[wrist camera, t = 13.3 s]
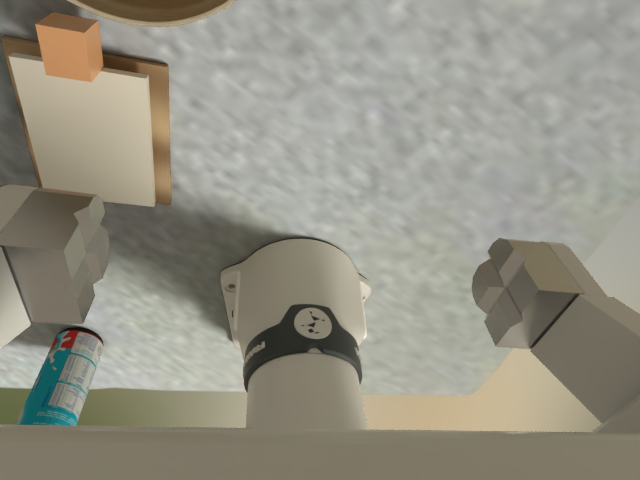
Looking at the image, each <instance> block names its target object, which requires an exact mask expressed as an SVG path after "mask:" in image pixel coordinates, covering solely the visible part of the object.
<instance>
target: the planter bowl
mask: <svg viewBox="0 0 640 480" xmlns="http://www.w3.org/2000/svg"><path fill="white" fill-rule="evenodd" d="M67 1H69V2H71V3H72V4H74V5H76V6H78V7H81V8H83V9H85V10H87V11H89V12H91V13H93V14H96V15H98V16H101V17H104V18H107V19H111V20H114V21H117V22H121V23H126V24H131V25H137V26H148V27H167V26H176V25H183V24H187V23H192V22H195V21H198V20H201V19H204V18H207V17H209V16H211V15H214V14H216V13H218V12H220V11H221V10H223V9H225V8H226V7H228V6H229V5H231V4H233V3H234V2H235V1H237V0H67Z"/></svg>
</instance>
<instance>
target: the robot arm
mask: <svg viewBox="0 0 640 480" xmlns="http://www.w3.org/2000/svg"><path fill="white" fill-rule="evenodd" d="M104 215H105V210H104V205H103V200H102V198H101V197H100V196H99V195H95V194H87V193H79V192H72V191H64V190H56V189H48V188H37V187H30V186H21V185H13V184H8V185H5V186H2V187H1V188H0V349H1V348H2V347H4V346H5V345H6V344H7V343H9V342H10V341H11V340H12V339H14V338H15V337H16V336H18V335H19V334H20V333H21V332H23V331H24V330H25V329H27V328H28V327H29V326H30V325H31V323H30V322H36V323H70V324H83V322H84V320H85V318H86V315H87V313H88V311H89V308H90V306H91V304H92V301H93V299H94V297H95V294H94V289H93V284H94V283H96V282H97V281H99V280H100V279H102V278H103V275H104V273H105V270H106V268H107V263H108V258H109V253H110V241H109V234H108V231H107V230H106V229H105V228H104V227H103V226H102V225H101V224H100V223H101V221H102V219H103V217H104ZM488 254H489V260H487V261H486V262H484V263H483V264H481V265H479V267H478V269H477V270H476V272H475V274H474V276H473V281H472V293H473V298H474V300H475V302H476V305H477V306H478V307H479V308H480V309H481V310H483V311H484V312H485V313H486V314H487V315H486V318H485V321H484V322H485V324H486V326H487V329H488V331H489V333H490V335H491V337H492V339H493V342H494V344H495V346H497V347H509V348H521V349H531V352H532V353H533V354H534V355H535V356H536V357H537V358H538V359H539V360H540V361H541V362H542V363H543V364H544V365H545V366H546V367H547V368H548V369H549V370H550V371H551V372H552V374H553V375H555V377H556V378H557V379H558V380H559V381H560V382H561V383H563V385H564V386H565V387H566V388H567V389H568V390H569V391H570V392H571V393H572V394H573V395H574V396H575V397H576V398H577V399H578V400H579V401H580V402H581V403H582V404H583V405H584V406H585V407H586V408H587V409H588V410H589V411H590V412H591V413H592V414H593V415H594V416H595V417H596V418H597V419H598V420H599V421H600V422H601V423H602V424H601V425H600V426H599V427H597V428H596V429H595V430H593V431H592V432H517V431H514V432H513V431H512V432H511V431H442V430H369V428H368V424H367V419H366V415H365V410H364V406H363V400H362V395H361V389H360V384H361V381H362V362H361V356H360V353H359V349H358V346H359V345H360V344H361V343H362V341H363V339H364V338H366V335H367V329H366V320H365V311H364V302H365V300H366V299H367V298H368V296H369V295H370V293H371V284H370V282H369V281H368V280H367V279H365V278H364V277H362V276H361V275H359V274H358V273H357V271H356V270H355V268H354V266H353V264H352V262H351V260H350V259H349V258H348V257H347V256H346V255H345V254H344V253H343V252H342V251H341V250H339V249H338V248H336V247H334V246H332V245H330V244H327V243H324V242H321V241H317V240H311V239H289V240H283V241H279V242H275V243H272V244H270V245H267V246H265V247H263V248H261V249H260V250H258V251H256V252H255V253H254V254H253V255H251V256H250V257H249V258H248V259H247V260H245V261H244V262H242V263H240V264H237V265H234V266H231V267H229V268H226V269H225V270H223V271H222V272H221V274H220V279H221V286H222V291H223V296H224V301H225V305H226V310H227V315H228V320H229V325H230V330H231V334H232V339H233V344H234V346H235V347H236V348H238V349H240V350H241V352H242V355H243V359H244V366H243V377H244V386H245V389H246V391H247V393H248V397H247V415H246V428H207V427H202V428H201V427H133V426H61V425H0V480H640V314H639V313H637V312H635V311H634V310H632V309H631V308H629V307H628V306H626V305H625V304H623V303H622V302H620V301H619V300H617V299H616V298H614V297H607V295H606V294H605V293H604V292H603V290H602V289H601V288H600V287H599V285H598V284H597V283H596V281H595V280H594V279H593V277H592V276H591V275H590V274H589V272H588V271H587V270H586V268H585V267H584V266H583V265H582V263H581V262H580V261H579V259H578V258H577V257H576V256H575V254H574V253H573V252H572V250H571V249H570V248H569V247H568V246H566V245H564V244H562V243H553V242H533V241H523V240H513V239H503V238H499V239H498V240H496V241H495V242H494V243H493V244H492V245H491V247H490V249H489V250H488ZM231 284H233V285H231Z"/></svg>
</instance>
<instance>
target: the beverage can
mask: <svg viewBox="0 0 640 480" xmlns="http://www.w3.org/2000/svg"><path fill="white" fill-rule="evenodd" d="M102 350H103V341H102V339H101V337H100V336H99V335H97V334H96V333H94V332H92V331H90V330H87V329H82V328H70V329H66V330H64V331H62V332H60V333H59V334H58V335H57V337H56V338H55V340H54V342H53V345H52V347H51V349H50V351H49V353H48V355H47V357H46V360H45V362H44V364H43V366H42V368H41V370H40V372H39V375H38V377H37V379H36V381H35V383H34V385H33V388H32V390H31V392H30V394H29V396H28V398H27V400H26V403H25V405H24V407H23V409H22V411H21V414H20V416H19V418H18V420H17V422H16V425H61V426H76V424H77V421H78V418H79V416H80V413H81V410H82V407H83V404H84V401H85V399H86V396H87V393H88V390H89V387H90V384H91V381H92V379H93V376H94V373H95V370H96V367H97V364H98V361H99V359H100V356H101V353H102Z"/></svg>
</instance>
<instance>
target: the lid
mask: <svg viewBox="0 0 640 480" xmlns="http://www.w3.org/2000/svg"><path fill="white" fill-rule="evenodd" d="M35 26H36V30H37V35H38V40H39V45H40V49H41V54H42V57H37V56H31V55H25V54H19V53H12V54H11V55H10V56H9V60H10V64H11V67H12V71H13V75H14V79H15V83H16V87H17V91H18V94H19V98H20V102H21V106H22V110H23V114H24V117H25V121H26V125H27V129H28V133H29V137H30V141H31V144H32V148H33V152H34V156H35V160H36V164H37V167H38V171H39V175H40V179H41V183H42V187H43V188H48V189H56V190H64V191H72V192H79V193H87V194H95V195H99V196H100V197H101V198H102V200H103V202H112V203H122V204H131V205H140V206H149V207H154V205H155V202H156V200H155V182H154V164H153V146H152V128H151V110H150V93H149V75H146V74H140V73H134V72H128V71H122V70H116V69H110V68H104V65H103V57H102V49H101V40H100V32H99V24H98V21H97V20H92V19H87V18H81V17H76V16H70V15H65V14H59V13H54V12H52V13H51V14H50V15H48V16H47V17H45V18H44V19H42V20H41V21H39V22H38V23H36V24H35Z"/></svg>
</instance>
